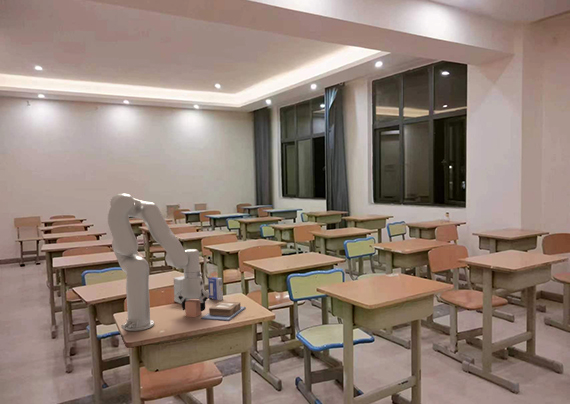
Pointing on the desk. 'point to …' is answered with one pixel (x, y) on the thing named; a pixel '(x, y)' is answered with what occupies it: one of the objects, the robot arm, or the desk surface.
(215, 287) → the walkman
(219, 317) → the board
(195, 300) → the terracotta block
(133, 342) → the desk surface
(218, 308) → the walnut base block
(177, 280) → the small box
